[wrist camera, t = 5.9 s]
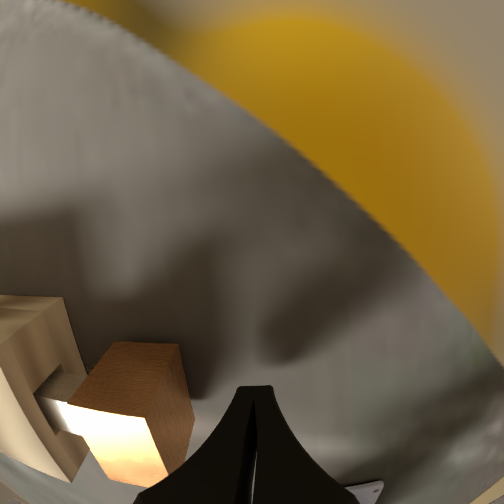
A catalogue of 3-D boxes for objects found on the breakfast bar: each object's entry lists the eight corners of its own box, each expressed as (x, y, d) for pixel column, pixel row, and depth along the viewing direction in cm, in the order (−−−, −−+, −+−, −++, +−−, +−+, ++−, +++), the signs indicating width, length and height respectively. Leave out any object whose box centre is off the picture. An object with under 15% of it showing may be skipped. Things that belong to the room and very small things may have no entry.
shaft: (178, 343, 12) (144, 418, 8) (195, 419, 13) (176, 491, 9) (-36, 320, 13) (-78, 349, 8) (-13, 377, 14) (-47, 410, 10)
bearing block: (62, 297, 13) (-7, 350, 7) (106, 419, 15) (71, 483, 9) (-30, 292, 13) (-84, 324, 8) (10, 394, 15) (-28, 435, 10)
